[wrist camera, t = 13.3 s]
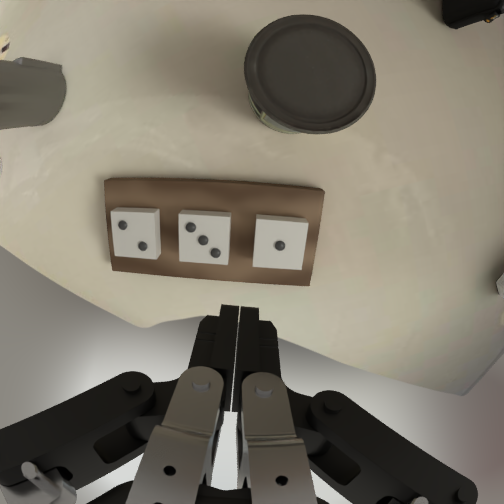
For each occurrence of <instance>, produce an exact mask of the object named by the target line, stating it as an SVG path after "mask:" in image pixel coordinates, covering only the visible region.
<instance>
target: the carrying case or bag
mask: <svg viewBox="0 0 504 504" xmlns="http://www.w3.org/2000/svg"><path fill="white" fill-rule="evenodd" d="M503 13H504V0H443V18H444V21H445V23H446V25H447V26H448V27H450V28H453V29H458V28H461V27H464V26H467V25H470V24H473V23H476V22H479V21H482V20H484V21H485V22H487V23H490V22H492V21H493V20H494V19H496V18H497V17H499V16H500V14H503Z"/></svg>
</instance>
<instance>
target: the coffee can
mask: <svg viewBox="0 0 504 504" xmlns="http://www.w3.org/2000/svg"><path fill="white" fill-rule="evenodd" d="M244 74H245V80H246V84H247V87H248V90H249V102H250V105H251V108H252V110H253V112H254V113H255V115H256V116H257V117H258V119H259V120H260V121H261V122H262V123H264V124H265V125H266V126H268V127H269V128H271V129H273V130H276V131H278V132H282V133H287V134H297V133H307V134H328V133H333V132H337V131H340V130H343V129H345V128H347V127H349V126H351V125H352V124H354V123H355V122H357V121H358V120H359V119H360V118H361V117H362V116H363V115H364V114H365V113H366V111H367V110H368V108H369V107H370V105H371V103H372V100H373V98H374V94H375V88H376V74H375V68H374V64H373V61H372V59H371V56H370V54H369V52H368V51H367V49H366V47H365V46H364V45H363V43H362V42H361V41H360V40H359V39H358V38H357V37H356V36H355V35H354V34H353V33H352V32H351V31H350V30H348V29H347V28H345V27H344V26H342V25H341V24H339V23H337V22H335V21H333V20H330V19H327V18H324V17H320V16H315V15H291V16H287V17H283V18H280V19H278V20H276V21H274V22H272V23H270V24H268V25H267V26H266V27H264V28H263V29H262V30H261V31H260V32H258V33H257V35H256V36H255V37H254V39H253V40H252V42H251V43H250V45H249V47H248V50H247V53H246V57H245V62H244Z"/></svg>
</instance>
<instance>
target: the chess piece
mask: <svg viewBox="0 0 504 504" xmlns="http://www.w3.org/2000/svg"><path fill="white" fill-rule="evenodd" d="M1 173H2V161H1V158H0V176H1Z"/></svg>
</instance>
